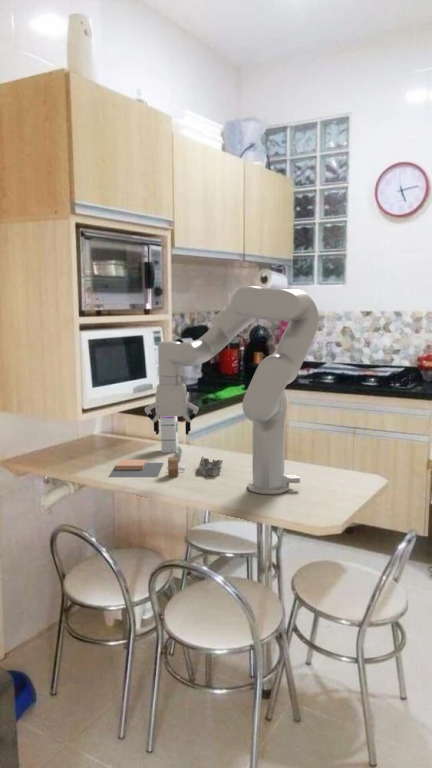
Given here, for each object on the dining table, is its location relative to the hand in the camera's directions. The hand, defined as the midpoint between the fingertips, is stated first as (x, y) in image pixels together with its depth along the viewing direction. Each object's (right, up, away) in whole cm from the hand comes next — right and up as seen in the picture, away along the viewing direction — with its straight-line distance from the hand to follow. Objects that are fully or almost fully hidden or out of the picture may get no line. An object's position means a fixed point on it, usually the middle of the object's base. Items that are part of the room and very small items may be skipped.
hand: (172, 433), depth 189 cm
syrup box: (-3, -10, +33) cm, 34 cm away
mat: (-13, -13, +9) cm, 20 cm away
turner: (0, -13, +6) cm, 15 cm away
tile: (-10, -11, +12) cm, 19 cm away
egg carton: (+12, -14, +7) cm, 20 cm away
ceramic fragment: (0, -11, +24) cm, 27 cm away
